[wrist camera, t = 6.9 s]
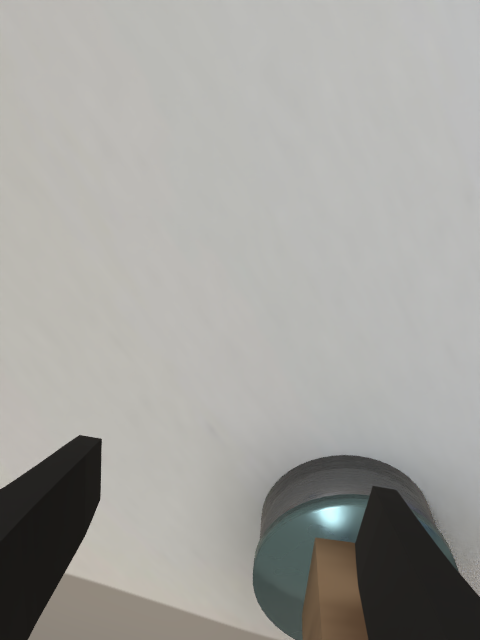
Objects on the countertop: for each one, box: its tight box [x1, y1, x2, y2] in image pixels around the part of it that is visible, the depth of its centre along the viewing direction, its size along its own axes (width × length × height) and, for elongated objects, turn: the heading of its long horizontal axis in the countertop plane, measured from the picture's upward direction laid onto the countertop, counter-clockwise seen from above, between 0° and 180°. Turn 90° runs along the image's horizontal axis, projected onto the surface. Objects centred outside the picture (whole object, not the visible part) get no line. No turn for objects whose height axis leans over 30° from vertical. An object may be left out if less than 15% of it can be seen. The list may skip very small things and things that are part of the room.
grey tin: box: [253, 455, 458, 640], centre depth 23 cm, size 9×9×4 cm
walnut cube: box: [302, 538, 368, 640], centre depth 19 cm, size 5×5×5 cm
